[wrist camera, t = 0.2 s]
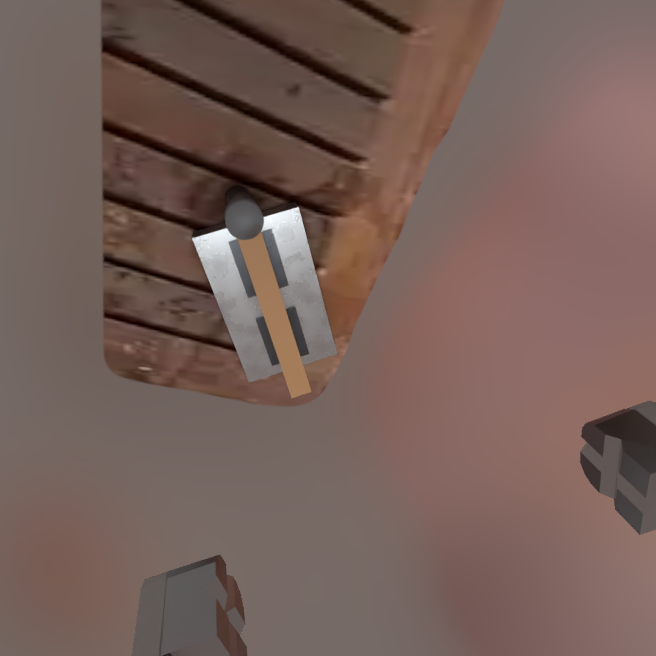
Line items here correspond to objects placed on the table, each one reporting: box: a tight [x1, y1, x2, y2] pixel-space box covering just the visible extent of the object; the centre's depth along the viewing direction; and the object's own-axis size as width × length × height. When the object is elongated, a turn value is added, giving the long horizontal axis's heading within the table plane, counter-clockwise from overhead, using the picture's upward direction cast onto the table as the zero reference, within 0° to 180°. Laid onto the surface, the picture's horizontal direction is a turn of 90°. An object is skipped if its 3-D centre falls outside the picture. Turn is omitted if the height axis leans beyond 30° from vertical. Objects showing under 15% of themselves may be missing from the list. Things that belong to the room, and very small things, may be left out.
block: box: [192, 186, 337, 382], centre depth 55 cm, size 24×12×6 cm, turn 13°
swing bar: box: [224, 197, 311, 398], centre depth 51 cm, size 23×4×2 cm, turn 13°
